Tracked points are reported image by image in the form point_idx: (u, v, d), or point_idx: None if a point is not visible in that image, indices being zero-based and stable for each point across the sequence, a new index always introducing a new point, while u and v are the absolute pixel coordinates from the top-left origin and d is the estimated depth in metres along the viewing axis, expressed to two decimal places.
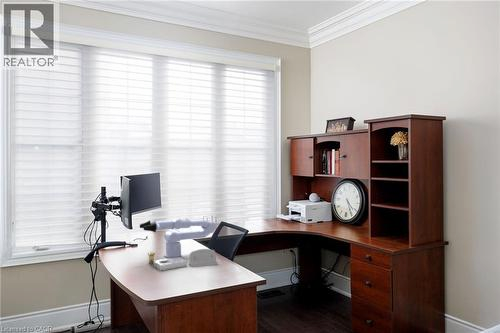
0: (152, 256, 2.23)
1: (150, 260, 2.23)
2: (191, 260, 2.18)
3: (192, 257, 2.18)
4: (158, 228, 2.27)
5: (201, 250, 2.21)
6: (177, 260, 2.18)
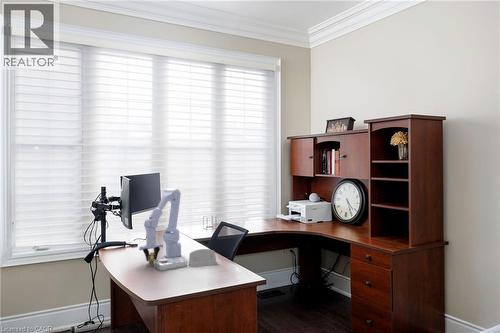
0: (152, 256, 2.23)
1: (150, 260, 2.23)
2: (191, 260, 2.17)
3: (192, 257, 2.18)
4: None
5: (201, 250, 2.21)
6: (177, 260, 2.18)
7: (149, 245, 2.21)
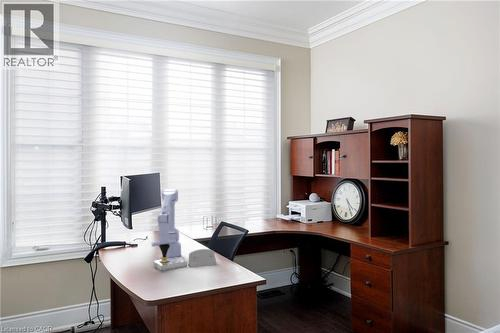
0: (165, 260, 2.14)
1: None
2: (190, 260, 2.17)
3: (191, 257, 2.18)
4: None
5: (200, 250, 2.21)
6: (177, 260, 2.18)
7: (162, 241, 2.12)
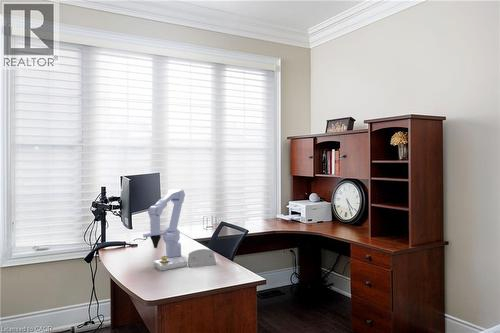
0: (165, 260, 2.14)
1: None
2: (190, 260, 2.17)
3: (191, 257, 2.17)
4: None
5: (200, 250, 2.21)
6: (177, 260, 2.18)
7: (153, 232, 2.21)
